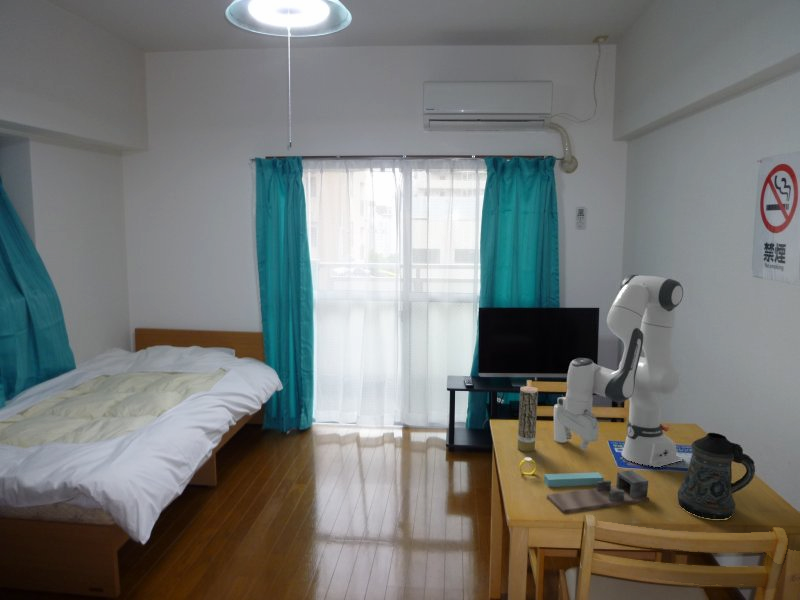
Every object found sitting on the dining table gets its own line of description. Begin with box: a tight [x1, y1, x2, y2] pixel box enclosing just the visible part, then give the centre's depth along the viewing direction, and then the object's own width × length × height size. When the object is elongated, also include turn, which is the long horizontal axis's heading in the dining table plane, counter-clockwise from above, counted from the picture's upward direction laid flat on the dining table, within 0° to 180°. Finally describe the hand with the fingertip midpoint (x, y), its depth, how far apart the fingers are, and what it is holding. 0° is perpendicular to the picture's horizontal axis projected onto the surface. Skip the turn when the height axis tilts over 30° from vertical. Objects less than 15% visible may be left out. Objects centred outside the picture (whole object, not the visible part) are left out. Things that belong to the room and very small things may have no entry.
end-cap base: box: [546, 469, 650, 514], centre depth 186 cm, size 32×10×6 cm, turn 105°
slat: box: [543, 471, 605, 488], centre depth 197 cm, size 20×4×3 cm, turn 96°
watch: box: [518, 456, 538, 476], centre depth 203 cm, size 6×3×6 cm, turn 89°
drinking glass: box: [553, 403, 568, 444], centre depth 233 cm, size 7×7×15 cm
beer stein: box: [677, 432, 756, 519], centre depth 180 cm, size 16×19×25 cm
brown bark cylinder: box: [517, 385, 539, 453], centre depth 224 cm, size 7×7×25 cm
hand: (575, 443), depth 195 cm, fingers open, 8 cm apart
